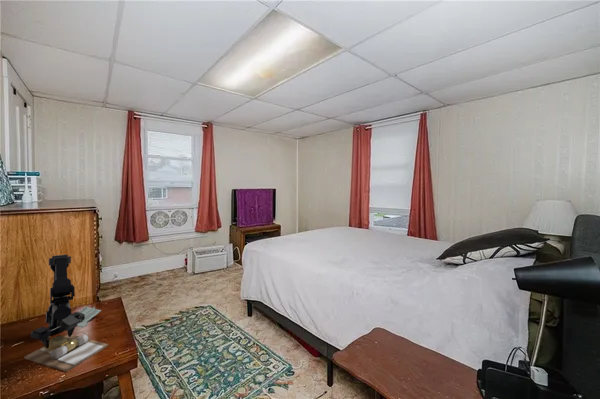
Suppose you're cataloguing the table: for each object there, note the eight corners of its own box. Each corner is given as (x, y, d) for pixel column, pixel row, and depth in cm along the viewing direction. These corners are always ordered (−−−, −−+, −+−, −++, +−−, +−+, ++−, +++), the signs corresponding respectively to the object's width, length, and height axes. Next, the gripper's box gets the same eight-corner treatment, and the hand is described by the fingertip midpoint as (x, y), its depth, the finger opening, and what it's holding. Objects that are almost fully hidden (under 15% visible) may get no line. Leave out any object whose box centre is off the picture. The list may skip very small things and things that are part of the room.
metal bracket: (83, 302, 149) (105, 307, 147) (86, 310, 151) (107, 315, 149) (57, 321, 136) (80, 326, 133) (60, 329, 138) (82, 334, 135)
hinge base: (24, 358, 110) (24, 347, 110) (69, 335, 128) (70, 326, 127) (67, 371, 105) (67, 360, 105) (107, 346, 123) (108, 336, 123)
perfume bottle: (43, 348, 115) (44, 340, 115) (58, 341, 121) (59, 333, 121) (66, 355, 113) (66, 346, 113) (80, 347, 119) (80, 339, 119)
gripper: (50, 323, 106) (48, 359, 107) (94, 304, 124) (92, 334, 125) (30, 318, 108) (28, 353, 109) (76, 300, 126) (75, 330, 127)
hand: (58, 342), depth 117 cm, fingers open, 9 cm apart
